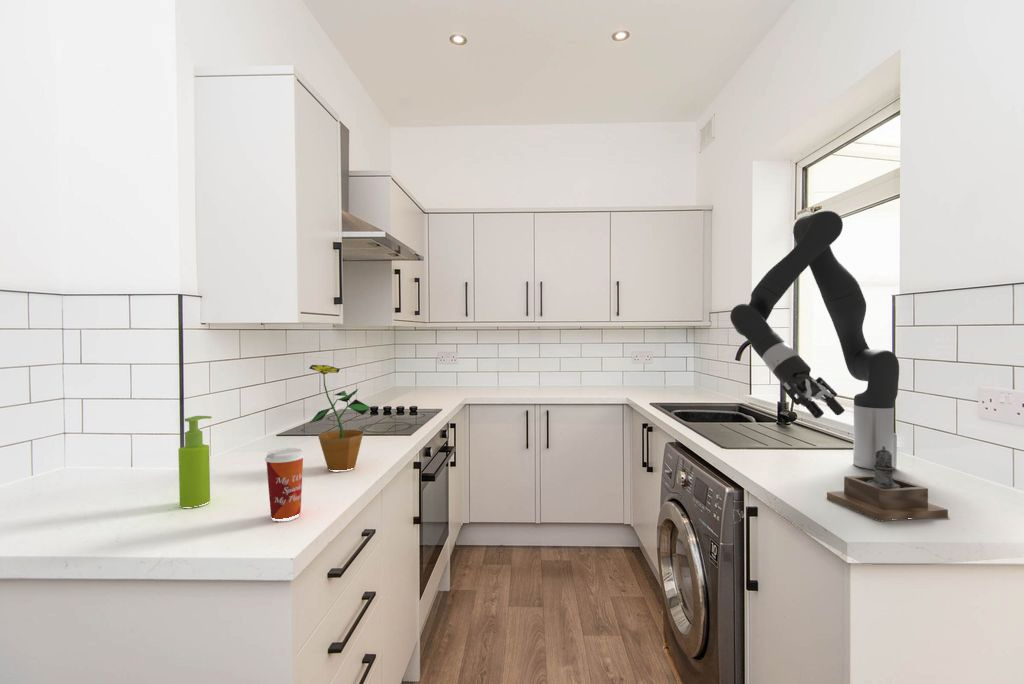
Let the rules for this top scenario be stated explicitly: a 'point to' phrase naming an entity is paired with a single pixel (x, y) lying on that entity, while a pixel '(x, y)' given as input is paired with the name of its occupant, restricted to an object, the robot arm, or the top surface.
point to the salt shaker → (883, 470)
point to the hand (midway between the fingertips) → (831, 414)
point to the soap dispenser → (194, 467)
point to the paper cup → (285, 481)
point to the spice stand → (886, 499)
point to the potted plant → (339, 443)
